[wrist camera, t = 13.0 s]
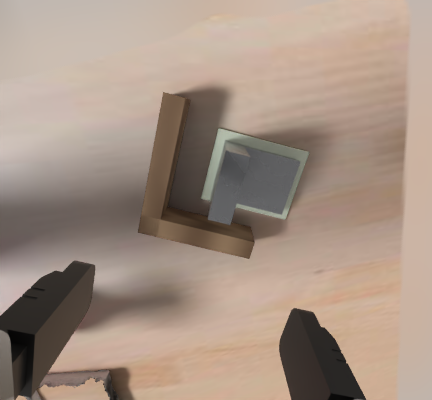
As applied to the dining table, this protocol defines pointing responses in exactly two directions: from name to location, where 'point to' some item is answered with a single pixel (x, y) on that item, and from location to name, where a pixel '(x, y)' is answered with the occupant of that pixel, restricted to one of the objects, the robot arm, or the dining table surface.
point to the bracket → (250, 181)
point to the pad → (257, 144)
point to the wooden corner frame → (161, 189)
